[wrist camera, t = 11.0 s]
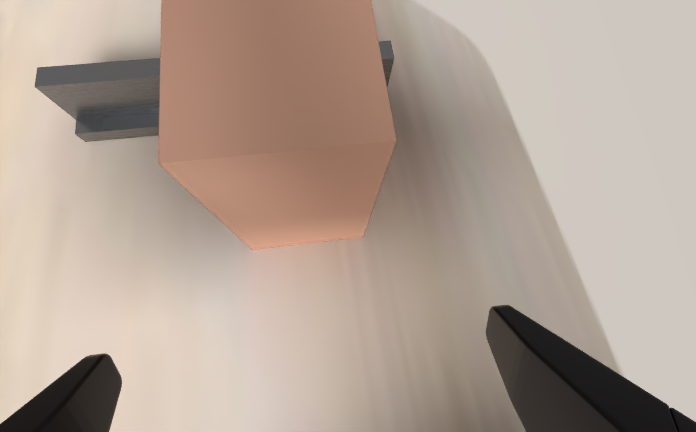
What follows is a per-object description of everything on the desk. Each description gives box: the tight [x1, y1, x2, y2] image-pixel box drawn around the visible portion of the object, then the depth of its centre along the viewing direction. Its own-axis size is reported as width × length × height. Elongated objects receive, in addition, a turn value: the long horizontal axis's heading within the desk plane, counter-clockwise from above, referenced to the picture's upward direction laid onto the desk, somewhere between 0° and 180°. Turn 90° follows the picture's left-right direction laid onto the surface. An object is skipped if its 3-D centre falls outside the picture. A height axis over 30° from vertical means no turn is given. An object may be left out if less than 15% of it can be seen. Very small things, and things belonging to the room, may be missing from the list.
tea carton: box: [158, 0, 396, 250], centre depth 14 cm, size 6×6×10 cm
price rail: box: [35, 41, 394, 142], centre depth 18 cm, size 2×16×4 cm, turn 97°
